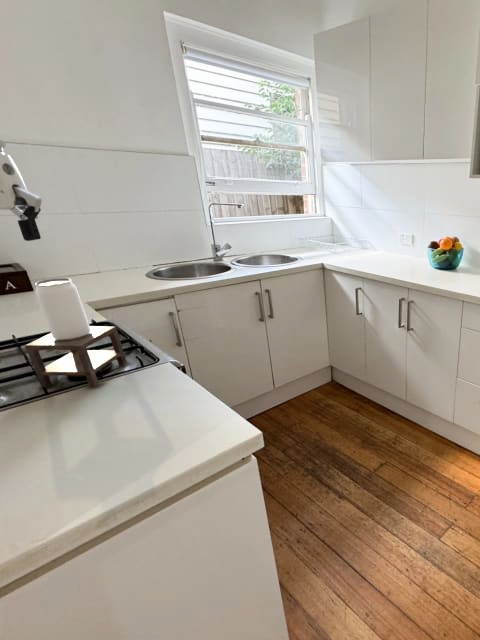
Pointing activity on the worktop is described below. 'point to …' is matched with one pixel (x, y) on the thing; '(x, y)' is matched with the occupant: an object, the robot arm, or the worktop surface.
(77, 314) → the can
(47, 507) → the worktop surface
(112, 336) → the shelf
